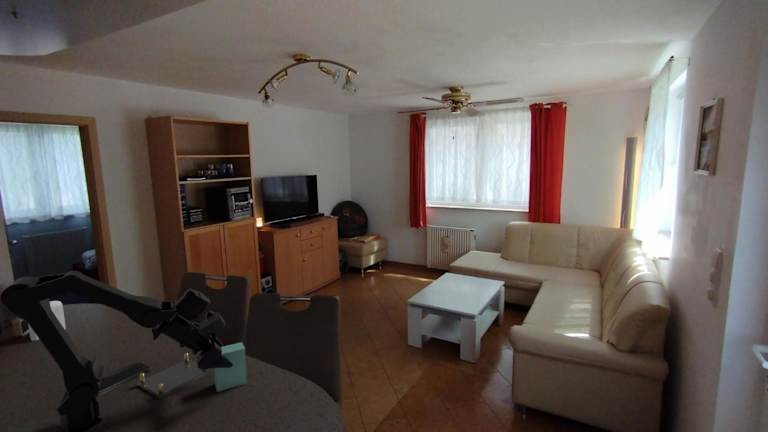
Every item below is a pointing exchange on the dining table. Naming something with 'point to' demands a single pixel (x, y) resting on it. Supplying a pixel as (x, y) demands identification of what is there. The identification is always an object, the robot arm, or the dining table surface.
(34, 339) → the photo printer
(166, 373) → the chassis
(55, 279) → the robot arm
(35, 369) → the dining table surface
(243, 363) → the teal rectangular block
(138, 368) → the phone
